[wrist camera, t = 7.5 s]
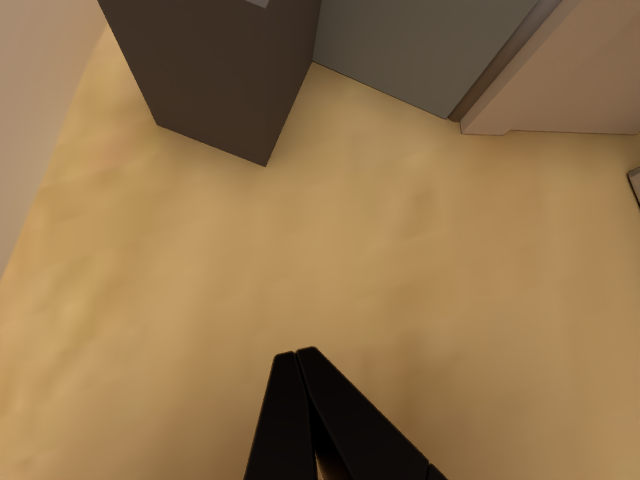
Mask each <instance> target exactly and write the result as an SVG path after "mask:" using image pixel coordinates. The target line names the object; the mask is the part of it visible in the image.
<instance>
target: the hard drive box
mask: <svg viewBox="0 0 640 480" xmlns="http://www.w3.org/2000/svg"><path fill="white" fill-rule="evenodd" d="M629 179H630V181H631V184H632V186H633V188H634V191H635V193H636V196H637V198H638V201H639V203H640V167H638V168H636V169H634V170H631V171H629Z"/></svg>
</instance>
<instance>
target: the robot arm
mask: <svg viewBox="0 0 640 480" xmlns="http://www.w3.org/2000/svg"><path fill="white" fill-rule="evenodd" d="M315 454H316V456H315ZM316 458H317V461H318V464H319V467H320V470H321V473H322V476H323V479H324V480H448V479H447V478H446V477H445V476H444V475H443V474H442V473H441V472H440V471H439V470H438V469H437V468H436V467H435V466H434V465H433V464H429V460H428V459H427V458H426V457H425V456H424V455H423V454H422V453H421V452H420V451H419V450H418V449H417V448H416V447H415V446H414V445H413V444H412V443H411V442H410V441H409V440H408V439H407V438H406V437H405V436H404V435H403V434H402V433H401V432H400V431H399V430H398V429H397V428H396V427H395V426H394V425H393V424H392V423H391V422H390V421H389V420H388V419H387V418H386V417H385V416H384V415H383V414H382V413H381V412H380V411H379V410H378V409H377V408H376V407H375V406H374V405H373V404H372V403H371V402H370V401H369V400H368V399H367V398H366V397H365V396H364V395H363V394H362V393H361V392H360V391H359V390H358V389H357V388H356V387H355V386H354V385H353V384H352V383H351V382H350V381H349V380H348V379H347V378H346V377H345V376H344V375H343V374H342V373H341V372H340V371H339V370H338V369H337V368H336V367H335V366H334V365H333V364H332V363H331V362H330V361H329V360H328V359H327V358H326V357H325V356H324V355H323V354H322V353H321V352H320V351H319V350H318V349H317V348H316V347H314V346H311V347H306V348H302V349H298V350H297V351H296V352H293V351H289V352H284V353H280V354H277V355H275V357H274V359H273V363H272V367H271V371H270V375H269V379H268V383H267V387H266V391H265V395H264V399H263V403H262V407H261V411H260V415H259V419H258V423H257V427H256V431H255V435H254V439H253V443H252V447H251V451H250V455H249V459H248V463H247V467H246V471H245V474H244V478H243V480H318V472H317V464H316Z"/></svg>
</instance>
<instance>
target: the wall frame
mask: <svg viewBox="0 0 640 480" xmlns="http://www.w3.org/2000/svg"><path fill="white" fill-rule="evenodd" d="M460 124H461V133H462V134H481V135H504V134H505V133H506V132H507V131H509V130H523V131H550V132H577V133H604V134H630V135H636V134H638V133H639V132H640V0H562V1H561V2H560V3H559V5H558V6H557V7H556V8H555V9H554V11H553V12H552V13H551V14H550V15H549V16H548V18H547V19H546V20H545V21H544V22H543V23H542V25H541V26H540V27H539V28H538V29H537V31H536V32H535V33H534V34H533V35H532V36H531V38H530V39H529V40H528V41H527V42H526V44H525V45H524V46H523V47H522V48H521V49H520V51H519V52H518V53H517V54H516V55H515V57H514V58H513V59H512V60H511V61H510V62H509V64H508V65H507V66H506V67H505V68H504V70H503V71H502V72H501V73H500V74H499V75H498V77H497V78H496V79H495V80H494V81H493V82H492V84H491V85H490V86H489V87H488V88H487V90H486V91H485V92H484V93H483V94H482V95H481V97H480V98H479V99H478V100H477V101H476V103H475V104H474V105H473V106H472V107H471V108H470V110H469V111H468V112H467V113H466V114H465V116H464V117H463V118H462V119H461V120H460Z"/></svg>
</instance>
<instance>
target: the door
mask: <svg viewBox="0 0 640 480" xmlns="http://www.w3.org/2000/svg"><path fill="white" fill-rule="evenodd" d="M561 1H562V0H322V1H321V7H320V14H319V20H318V26H317V32H316V38H315V45H314V51H313V57H312V61H314V62H316V63H318V64H321V65H323V66H325V67H328V68H330V69H332V70H334V71H337V72H339V73H341V74H343V75H346V76H348V77H350V78H353V79H355V80H357V81H359V82H362V83H364V84H366V85H369V86H371V87H373V88H375V89H378V90H380V91H382V92H384V93H387V94H389V95H391V96H394V97H396V98H398V99H400V100H403V101H405V102H407V103H409V104H412V105H414V106H416V107H419V108H421V109H423V110H425V111H428V112H430V113H432V114H434V115H437V116H439V117H441V118H444V119H446V118H447V117H448V118H449V119H450V120H452V121H455V122H458V121H460V120H461V119H462V118H463V117H464V116H465V114H466V113H467V112H468V111H469V110H470V108H471V107H472V106H473V105H474V104H475V103H476V101H477V100H478V99H479V98H480V97H481V95H482V94H483V93H484V92H485V91H486V90H487V88H488V87H489V86H490V85H491V84H492V82H493V81H494V80H495V79H496V78H497V77H498V75H499V74H500V73H501V72H502V71H503V70H504V68H505V67H506V66H507V65H508V64H509V62H510V61H511V60H512V59H513V58H514V57H515V55H516V54H517V53H518V52H519V51H520V49H521V48H522V47H523V46H524V45H525V44H526V42H527V41H528V40H529V39H530V38H531V36H532V35H533V34H534V33H535V32H536V31H537V29H538V28H539V27H540V26H541V25H542V23H543V22H544V21H545V20H546V19H547V18H548V16H549V15H550V14H551V13H552V12H553V11H554V9H555V8H556V7H557V6H558V5H559V3H560V2H561Z"/></svg>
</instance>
